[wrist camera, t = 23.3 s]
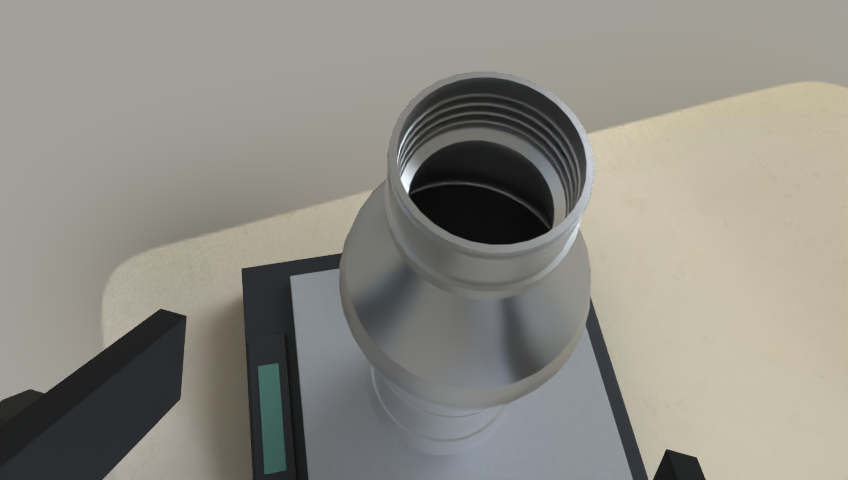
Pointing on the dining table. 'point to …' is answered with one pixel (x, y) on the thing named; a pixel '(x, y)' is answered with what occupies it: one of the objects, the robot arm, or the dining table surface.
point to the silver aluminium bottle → (470, 258)
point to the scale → (362, 430)
